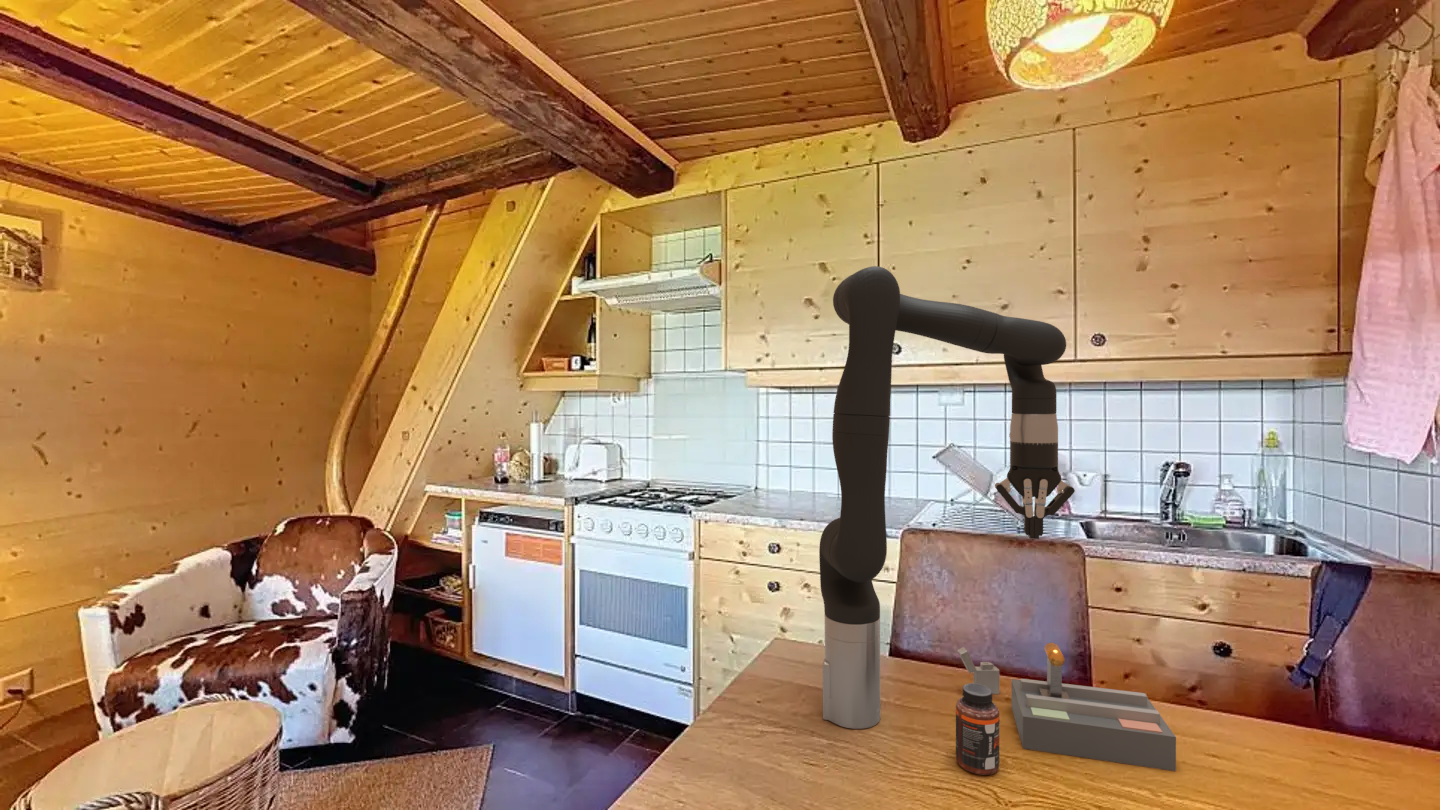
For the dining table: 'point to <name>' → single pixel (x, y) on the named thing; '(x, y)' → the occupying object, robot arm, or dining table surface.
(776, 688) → the dining table surface
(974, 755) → the supplement bottle
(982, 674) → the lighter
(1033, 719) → the switch box
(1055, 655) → the breaker handle
